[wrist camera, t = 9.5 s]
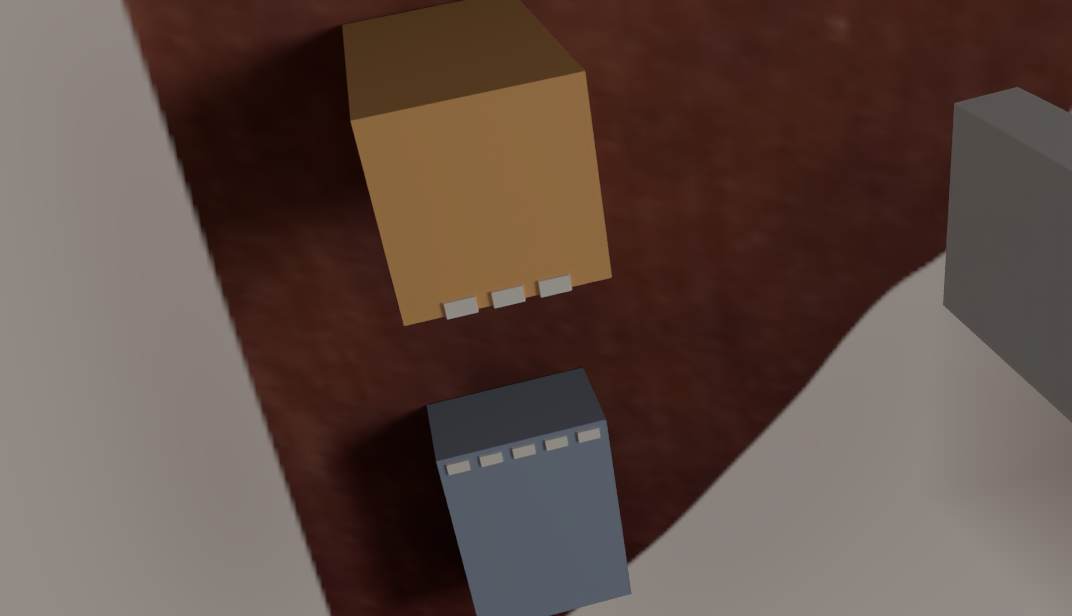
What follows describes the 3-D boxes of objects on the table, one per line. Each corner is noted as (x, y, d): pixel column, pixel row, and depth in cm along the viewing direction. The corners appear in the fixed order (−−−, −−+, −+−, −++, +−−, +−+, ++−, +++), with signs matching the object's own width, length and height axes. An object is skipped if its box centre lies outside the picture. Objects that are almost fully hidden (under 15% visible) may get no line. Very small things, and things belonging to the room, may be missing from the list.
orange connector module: (536, 151, 37) (612, 280, 27) (382, 185, 36) (404, 329, 26) (510, -10, 34) (586, 72, 24) (341, 24, 33) (350, 121, 23)
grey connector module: (608, 534, 47) (632, 595, 43) (469, 570, 46) (482, 635, 43) (582, 367, 42) (606, 420, 38) (426, 405, 41) (436, 463, 38)
